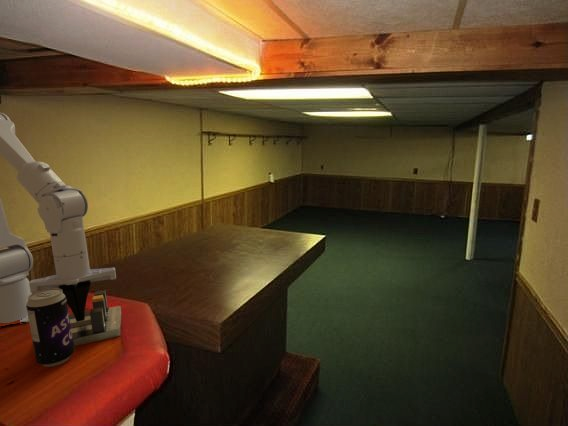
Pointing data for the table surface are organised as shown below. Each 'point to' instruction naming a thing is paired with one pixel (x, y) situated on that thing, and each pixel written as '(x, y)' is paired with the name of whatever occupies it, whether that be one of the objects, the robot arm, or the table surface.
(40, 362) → the beverage can
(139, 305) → the table surface
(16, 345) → the table surface
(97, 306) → the breaker
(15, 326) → the table surface
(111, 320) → the panel
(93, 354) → the table surface
